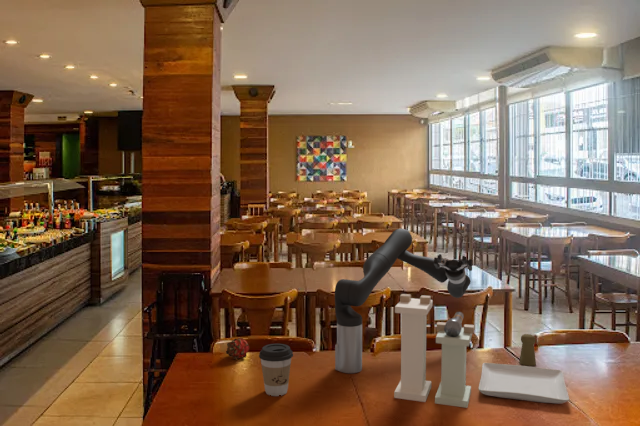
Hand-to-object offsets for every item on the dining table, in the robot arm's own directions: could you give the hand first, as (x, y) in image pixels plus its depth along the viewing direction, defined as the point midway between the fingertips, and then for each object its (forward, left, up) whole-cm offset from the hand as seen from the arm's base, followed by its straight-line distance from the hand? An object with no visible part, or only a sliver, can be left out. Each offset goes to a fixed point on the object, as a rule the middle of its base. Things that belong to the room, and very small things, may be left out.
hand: (451, 257), depth 210 cm
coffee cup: (-51, -46, -41) cm, 80 cm away
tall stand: (-8, -32, -41) cm, 52 cm away
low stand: (+5, -32, -41) cm, 52 cm away
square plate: (+26, -16, -41) cm, 51 cm away
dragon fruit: (-79, -20, -41) cm, 91 cm away
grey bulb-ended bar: (+5, -27, -19) cm, 33 cm away
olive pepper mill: (+28, +10, -41) cm, 50 cm away
